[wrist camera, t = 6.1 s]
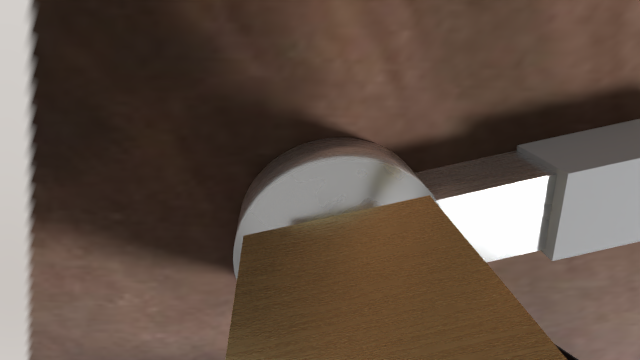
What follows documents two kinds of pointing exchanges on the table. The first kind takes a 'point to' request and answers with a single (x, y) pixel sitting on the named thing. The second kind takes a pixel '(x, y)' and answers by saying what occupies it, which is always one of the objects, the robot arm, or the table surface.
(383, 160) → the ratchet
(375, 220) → the wooden toy block
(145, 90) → the table surface
